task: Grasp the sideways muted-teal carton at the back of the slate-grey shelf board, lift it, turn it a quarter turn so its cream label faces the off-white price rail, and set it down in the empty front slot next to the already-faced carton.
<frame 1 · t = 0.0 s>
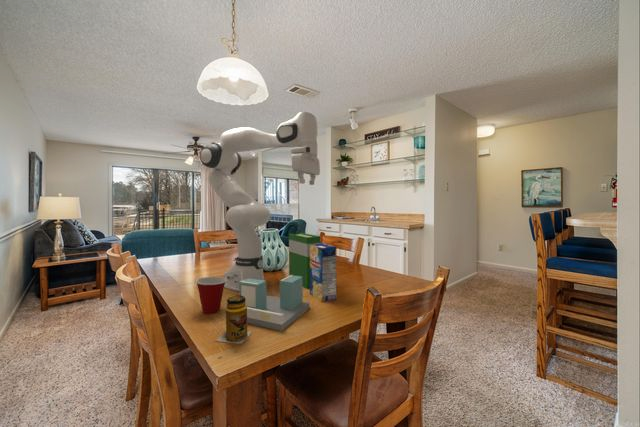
hand: (307, 184, 115), 48 cm above the table, fingers open, 8 cm apart
carton b: (291, 305, 100), point 2 cm above the table, touching shelf board
beverage box: (322, 297, 114), on the table
plastic cup: (212, 311, 100), on the table
shelf board: (272, 313, 97), on the table
condiment: (234, 337, 81), on the table
hardback book: (304, 283, 134), on the table
carton a: (253, 308, 96), point 2 cm above the table, touching shelf board
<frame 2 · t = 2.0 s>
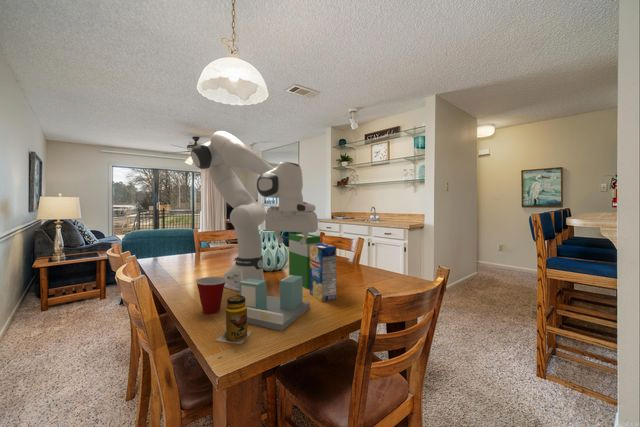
hand: (291, 243, 99), 25 cm above the table, fingers open, 8 cm apart
nothing on the table moved.
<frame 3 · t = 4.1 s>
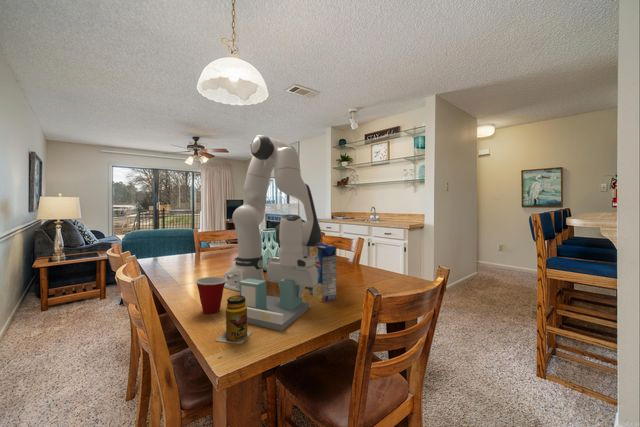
hand: (291, 295, 100), 6 cm above the table, fingers closed on carton b, 5 cm apart
carton b: (291, 305, 100), point 2 cm above the table, touching gripper, shelf board
everything else where it was.
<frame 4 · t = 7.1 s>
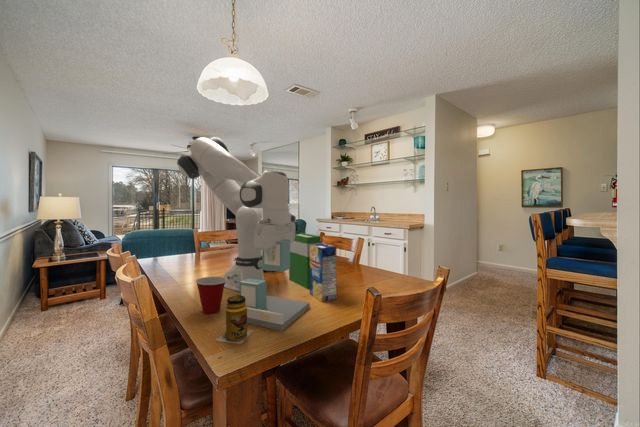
hand: (276, 258, 92), 21 cm above the table, fingers closed on carton b, 5 cm apart
carton b: (276, 268, 92), point 18 cm above the table, touching gripper
everything else where it was.
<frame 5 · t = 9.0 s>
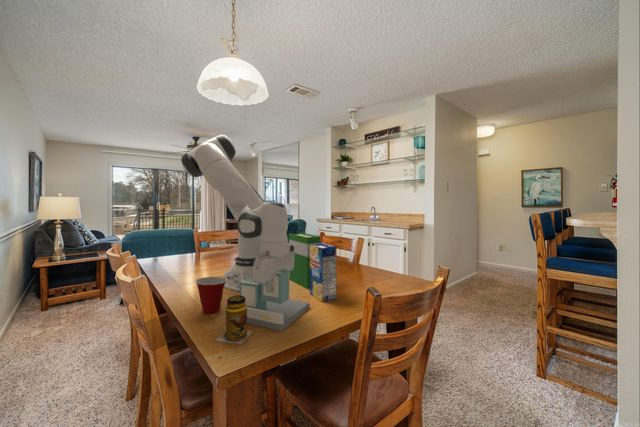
hand: (275, 289, 92), 11 cm above the table, fingers closed on carton b, 5 cm apart
carton b: (275, 299, 92), point 7 cm above the table, touching gripper
everything else where it was.
when the fingers open (7 cm above the table, at t = 10.2 s): carton b drops 2 cm, resting on shelf board.
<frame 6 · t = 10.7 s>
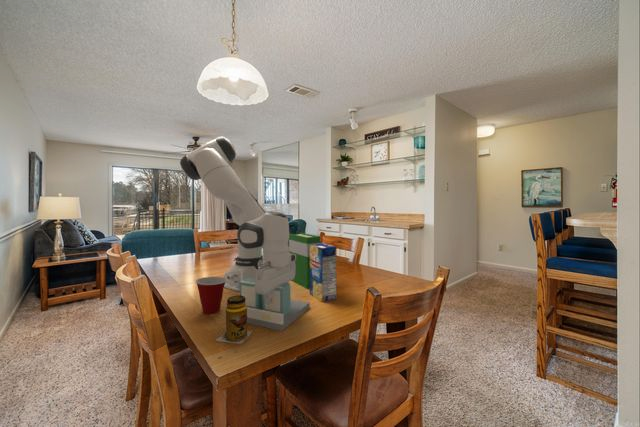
hand: (276, 299, 92), 7 cm above the table, fingers open, 8 cm apart
carton b: (276, 313, 93), point 2 cm above the table, touching shelf board
everything else where it was.
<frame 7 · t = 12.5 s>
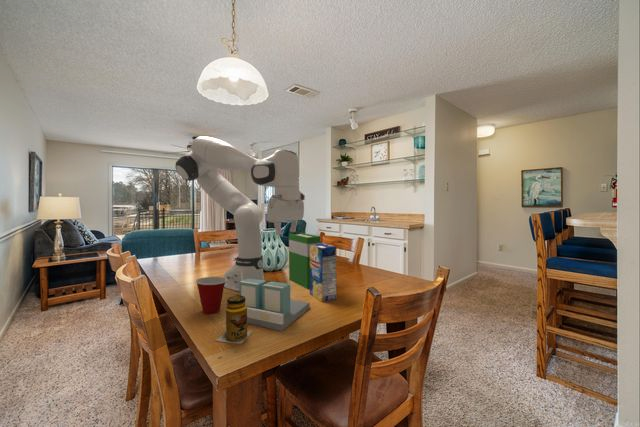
hand: (286, 233, 97), 29 cm above the table, fingers open, 8 cm apart
nothing on the table moved.
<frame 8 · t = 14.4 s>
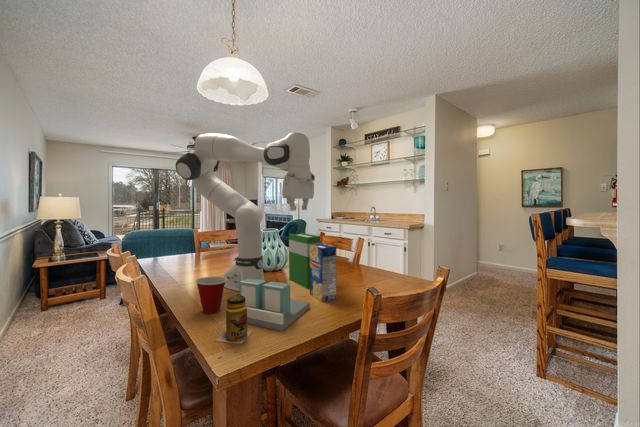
hand: (299, 210, 106), 37 cm above the table, fingers open, 8 cm apart
nothing on the table moved.
at the end: carton b 0.1 cm from the target spot, point 2.0 cm above the table; carton b tilted 0°; carton b moved 8.5 cm from its start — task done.
